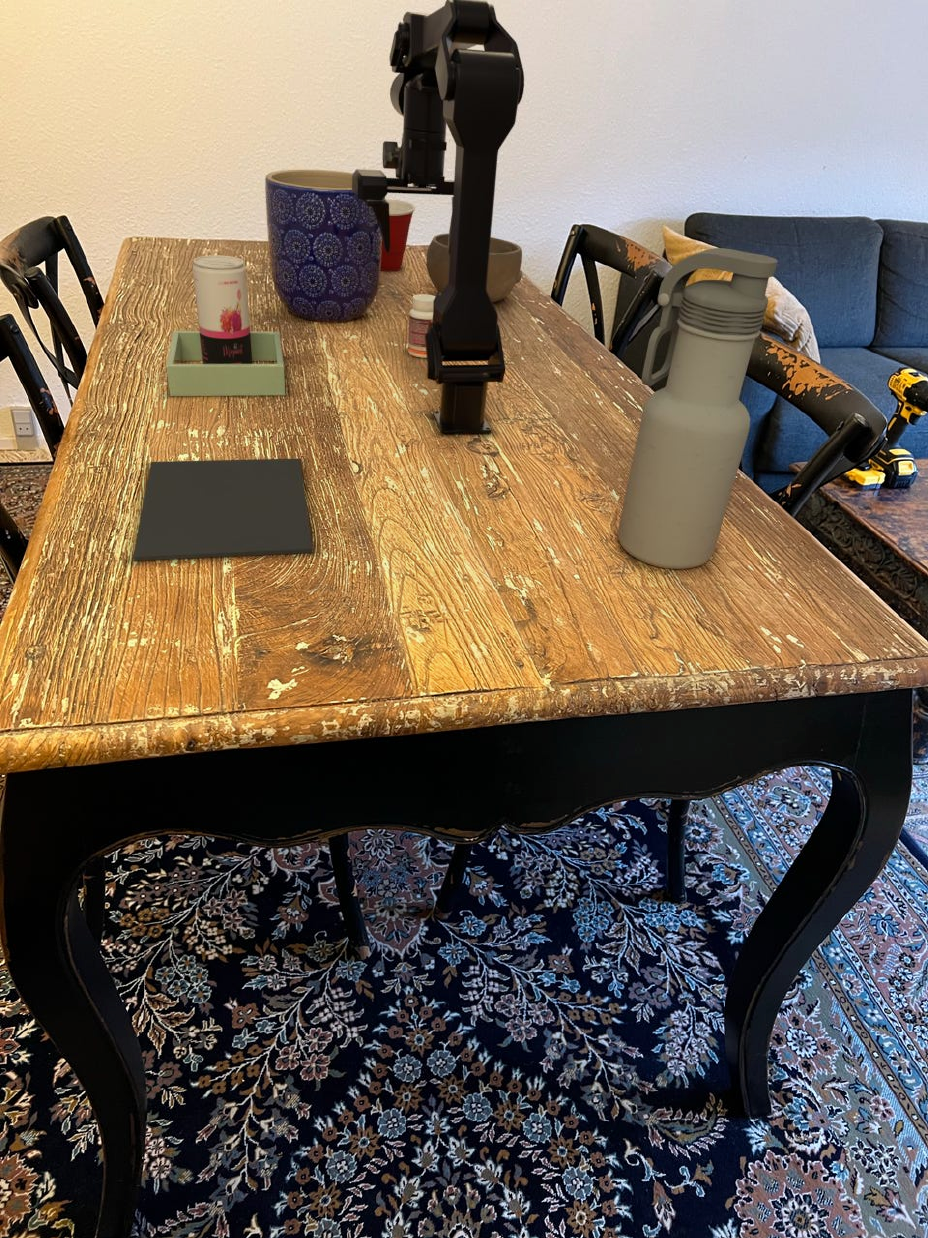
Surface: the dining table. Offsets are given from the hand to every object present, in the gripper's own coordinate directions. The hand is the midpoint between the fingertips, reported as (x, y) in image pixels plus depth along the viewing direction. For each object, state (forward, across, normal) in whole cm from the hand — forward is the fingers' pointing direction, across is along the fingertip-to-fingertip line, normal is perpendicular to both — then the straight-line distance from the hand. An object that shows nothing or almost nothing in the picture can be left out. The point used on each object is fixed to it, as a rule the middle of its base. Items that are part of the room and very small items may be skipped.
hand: (418, 252), depth 121 cm
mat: (+13, +30, +47) cm, 57 cm away
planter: (+16, +11, -21) cm, 28 cm away
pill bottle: (+15, -1, +1) cm, 15 cm away
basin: (+14, +28, +9) cm, 33 cm away
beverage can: (+14, +28, +9) cm, 33 cm away
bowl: (+16, -18, -30) cm, 39 cm away
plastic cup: (+16, -6, -53) cm, 56 cm away
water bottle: (+13, -12, +61) cm, 64 cm away
